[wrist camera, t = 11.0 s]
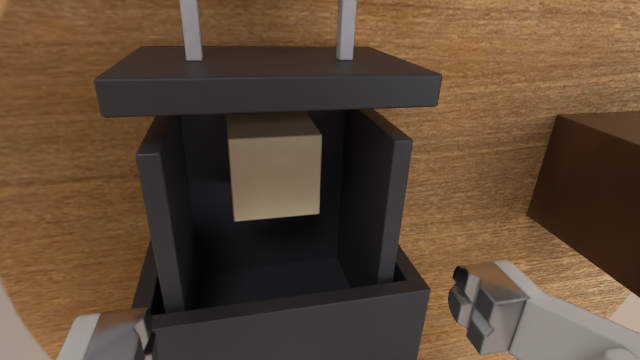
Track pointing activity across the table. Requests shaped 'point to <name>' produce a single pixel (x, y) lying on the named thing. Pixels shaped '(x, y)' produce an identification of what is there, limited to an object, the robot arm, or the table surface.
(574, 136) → the stand
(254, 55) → the drawer
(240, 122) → the cube
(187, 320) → the dark box sleeve
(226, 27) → the table surface
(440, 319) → the table surface
